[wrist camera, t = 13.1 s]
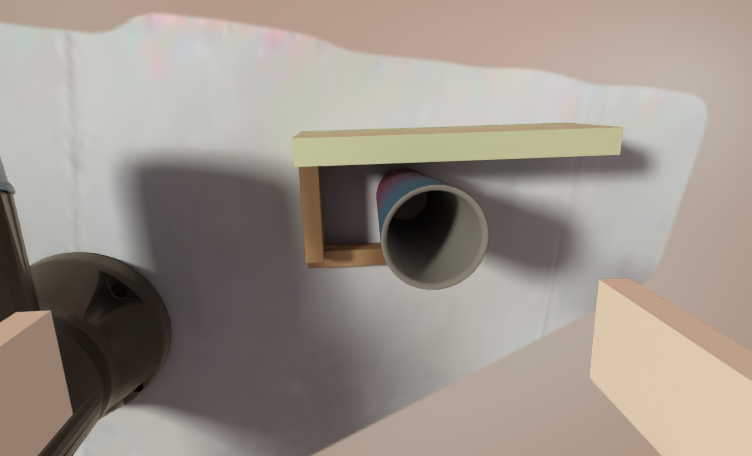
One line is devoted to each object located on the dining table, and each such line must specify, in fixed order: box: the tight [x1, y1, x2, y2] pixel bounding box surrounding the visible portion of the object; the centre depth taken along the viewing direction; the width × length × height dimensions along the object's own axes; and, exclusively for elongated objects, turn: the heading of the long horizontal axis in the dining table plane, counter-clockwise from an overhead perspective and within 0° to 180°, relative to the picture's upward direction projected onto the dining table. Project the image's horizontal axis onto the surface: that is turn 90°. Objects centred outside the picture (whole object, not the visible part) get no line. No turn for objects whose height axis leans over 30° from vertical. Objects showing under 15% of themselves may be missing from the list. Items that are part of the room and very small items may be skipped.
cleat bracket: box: [299, 166, 387, 268], centre depth 42 cm, size 13×10×5 cm
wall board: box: [292, 123, 623, 167], centre depth 39 cm, size 24×2×9 cm, turn 92°
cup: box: [376, 168, 489, 290], centre depth 37 cm, size 7×7×15 cm
